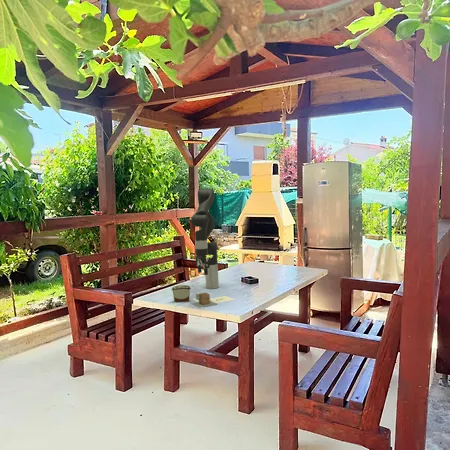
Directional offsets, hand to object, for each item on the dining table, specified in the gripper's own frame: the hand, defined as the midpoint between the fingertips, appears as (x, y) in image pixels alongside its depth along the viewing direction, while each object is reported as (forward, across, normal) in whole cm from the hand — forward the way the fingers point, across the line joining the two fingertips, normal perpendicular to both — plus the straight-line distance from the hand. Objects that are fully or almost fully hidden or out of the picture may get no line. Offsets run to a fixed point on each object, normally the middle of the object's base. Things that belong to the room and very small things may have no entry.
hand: (202, 273), depth 236 cm
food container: (+20, +16, +8) cm, 26 cm away
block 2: (+19, 0, 0) cm, 19 cm away
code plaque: (+19, +3, -12) cm, 23 cm away
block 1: (+19, +12, -3) cm, 23 cm away
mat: (+19, 0, 0) cm, 19 cm away
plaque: (+19, +12, -3) cm, 23 cm away
